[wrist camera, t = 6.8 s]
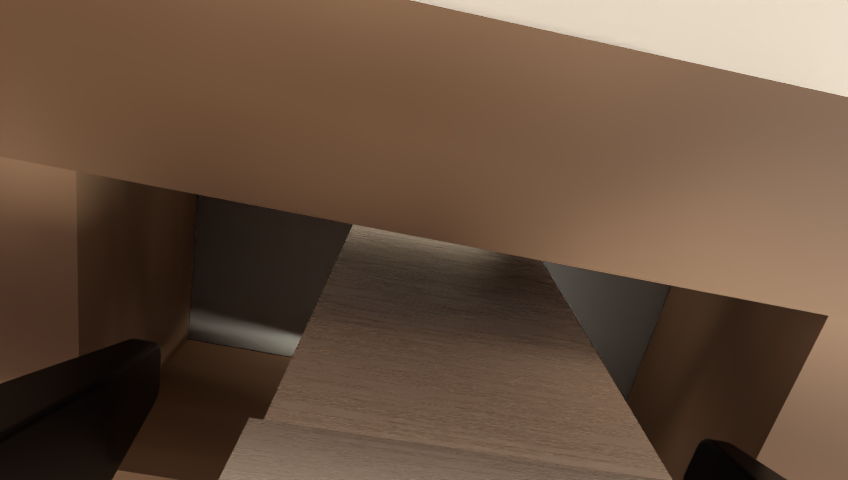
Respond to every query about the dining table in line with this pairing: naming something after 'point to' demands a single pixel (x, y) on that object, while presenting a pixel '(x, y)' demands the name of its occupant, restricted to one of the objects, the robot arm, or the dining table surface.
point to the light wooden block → (443, 377)
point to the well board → (422, 198)
